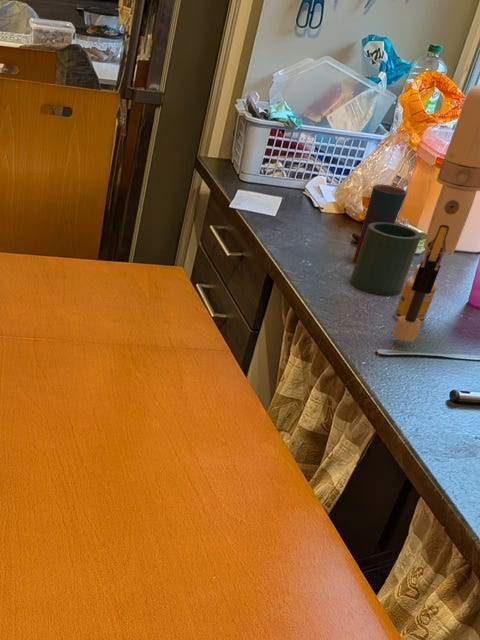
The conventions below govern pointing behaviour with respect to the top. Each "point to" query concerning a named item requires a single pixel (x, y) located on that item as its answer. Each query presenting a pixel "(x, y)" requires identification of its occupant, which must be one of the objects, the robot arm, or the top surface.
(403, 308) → the supplement bottle
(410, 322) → the brush
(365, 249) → the jar
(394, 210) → the cup
